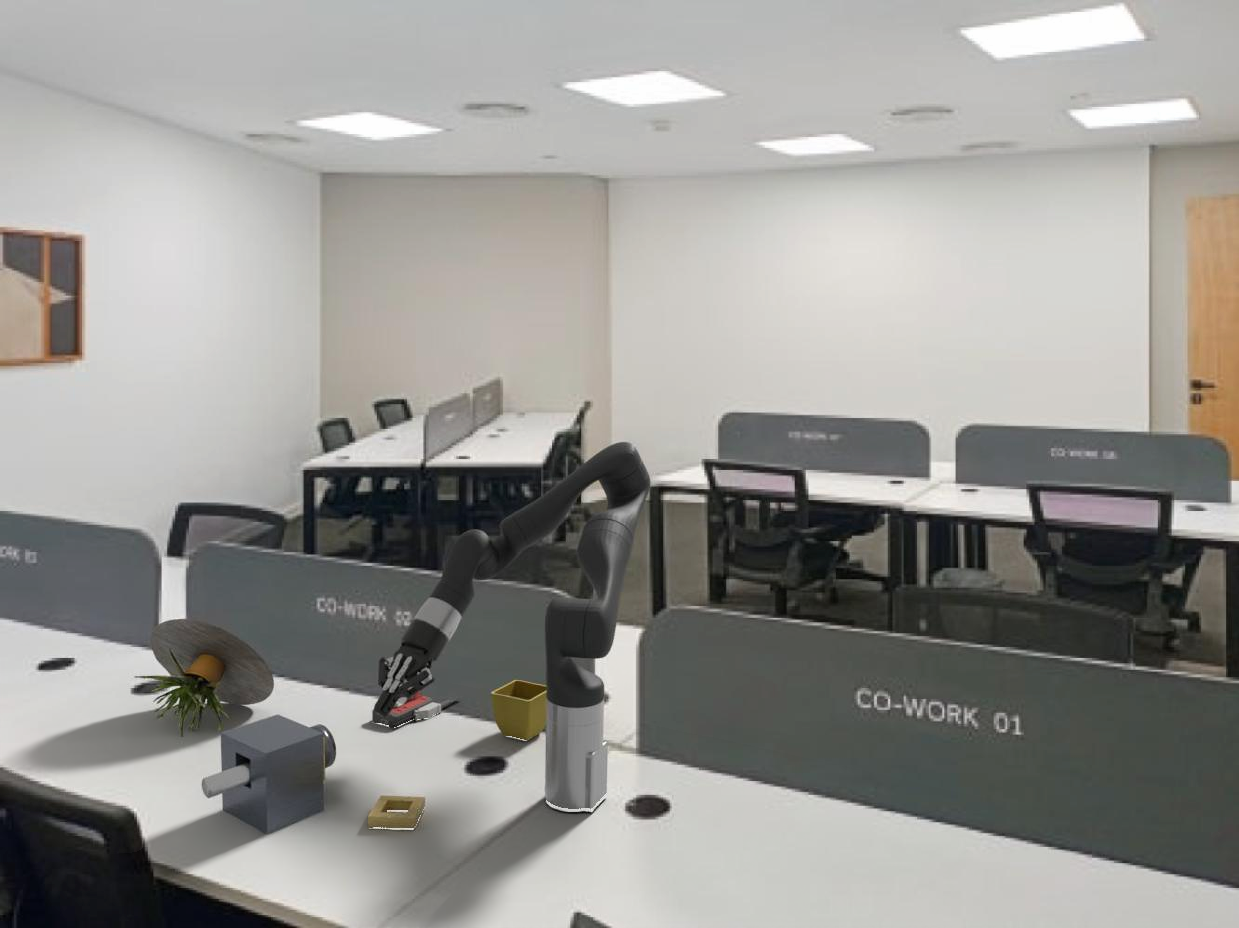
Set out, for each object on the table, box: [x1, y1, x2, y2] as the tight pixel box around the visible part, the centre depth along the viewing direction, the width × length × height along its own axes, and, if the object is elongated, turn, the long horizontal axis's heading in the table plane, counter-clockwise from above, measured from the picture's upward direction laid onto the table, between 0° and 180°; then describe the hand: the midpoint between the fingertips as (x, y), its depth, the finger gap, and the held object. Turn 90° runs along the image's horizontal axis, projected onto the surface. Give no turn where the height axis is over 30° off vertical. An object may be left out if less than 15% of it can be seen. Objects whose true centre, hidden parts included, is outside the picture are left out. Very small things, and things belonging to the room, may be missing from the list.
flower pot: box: [490, 679, 547, 740], centre depth 184 cm, size 9×9×9 cm
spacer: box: [367, 795, 426, 828], centre depth 151 cm, size 7×7×2 cm
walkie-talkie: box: [371, 691, 452, 729], centre depth 194 cm, size 9×4×20 cm
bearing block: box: [220, 714, 325, 835], centre depth 152 cm, size 10×12×12 cm
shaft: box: [201, 724, 337, 799], centre depth 151 cm, size 20×7×7 cm, turn 143°
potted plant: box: [133, 618, 275, 739], centre depth 185 cm, size 25×18×25 cm
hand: (378, 714), depth 169 cm, fingers closed
